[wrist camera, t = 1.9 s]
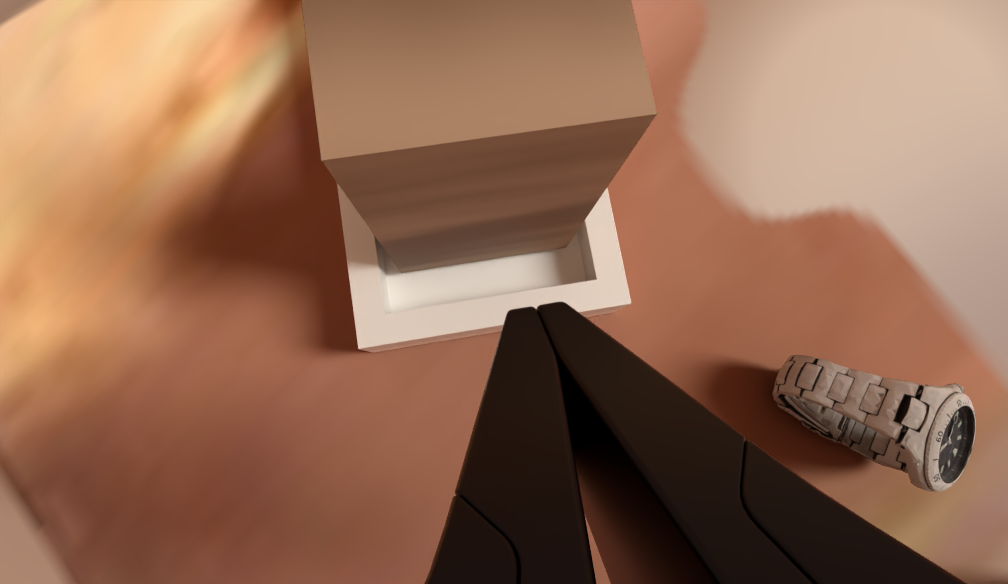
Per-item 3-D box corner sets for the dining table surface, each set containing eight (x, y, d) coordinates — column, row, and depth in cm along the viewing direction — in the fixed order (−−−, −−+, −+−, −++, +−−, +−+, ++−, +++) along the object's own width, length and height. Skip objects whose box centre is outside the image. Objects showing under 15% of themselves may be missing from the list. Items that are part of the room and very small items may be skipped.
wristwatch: (881, 492, 20) (1012, 529, 15) (735, 410, 20) (818, 419, 16) (915, 409, 21) (1052, 418, 16) (773, 329, 21) (864, 314, 16)
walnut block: (566, 247, 20) (656, 113, 10) (401, 273, 19) (321, 160, 9) (546, 144, 20) (612, -79, 10) (386, 167, 20) (295, -45, 10)
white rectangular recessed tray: (613, 312, 21) (631, 303, 18) (372, 352, 20) (358, 348, 18) (534, -74, 23) (541, -128, 21) (319, -50, 23) (299, -103, 20)
